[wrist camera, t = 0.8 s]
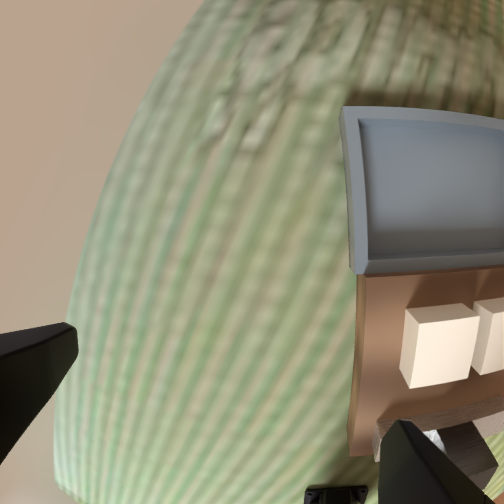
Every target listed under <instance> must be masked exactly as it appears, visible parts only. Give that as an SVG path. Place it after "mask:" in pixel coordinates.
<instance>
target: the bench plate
mask: <svg viewBox="0 0 504 504" xmlns="http://www.w3.org/2000/svg"><path fill="white" fill-rule="evenodd" d="M502 297H504V264H501V265H489V266H477V267H465V268H452V269H438V270H423V271H408V272H391V273H374V274H357V300H356V331H355V350H354V365H353V378H352V389H351V399H350V408H349V416H348V424H347V435H348V444H349V454H350V457H355V456H365V455H374V454H373V448H372V440H373V435H374V430H375V425H376V421H379V420H387V419H395V418H402V417H409V416H415V415H421V414H427V413H432V412H437V411H442V410H447V409H451V408H455V407H460V406H464V405H468V404H472V403H476V402H479V401H483V400H486V399H490V398H493V397H496V396H500V395H502V396H503V398H504V369H503V370H499V371H495V372H491V373H488V374H484V375H479V373H478V372H477V371H476V370H475V369H474V368H473V367H472V366H470V370H469V375H468V378H466V379H462V380H457V381H452V382H447V383H442V384H436V385H430V386H424V387H418V388H411V389H409V387H408V385H407V383H406V381H405V379H404V377H403V375H402V373H401V371H400V369H399V366H400V358H401V351H402V342H403V333H404V322H405V310H406V309H409V308H420V307H430V306H439V305H449V304H457V303H462V304H464V305H465V306H467V307H468V308H470V309H471V310H472V311H473V304H474V301H481V300H488V299H495V298H502Z"/></svg>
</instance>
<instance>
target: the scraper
mask: <svg viewBox="0 0 504 504" xmlns="http://www.w3.org/2000/svg"><path fill="white" fill-rule="evenodd" d="M398 419H405V420H410V421H412V422H413V423H414V424H415V425H416V426H417V427H418V428H419V429H420V430H421V431H422V432H423V433H424V434H425V435H426V436H427V437H428V438H429V439H430V440H431V441H432V442H433V443H434V444H435V445H436V446H437V447H438V448H439V449H440V450H441V451H442V452H443V453H444V454H445V455H446V456H447V457H448V458H449V459H450V460H451V461H452V462H453V463H454V464H455V465H456V466H457V467H458V468H459V469H460V470H461V471H462V472H463V473H464V474H466V475H467V476H468V477H469V478H470V479H471V480H472V481H473V482H474V483H475V484H476V485H477V486H478V487H479V488H480V489H481V490H483V489H485V487H486V486H487V484H488V482H489V481H490V479H491V478H492V476H493V474H494V473H495V471H496V469H497V468H498V466H499V465H498V463H497V461H496V459H495V458H494V456H493V454H492V453H491V451H490V449H489V447H488V446H487V444H486V442H485V441H484V439H483V438H485V437H488V436H491V435H494V434H497V433H500V432H502V431H503V429H504V398H503V396H502V395H500V396H496V397H493V398H490V399H486V400H483V401H479V402H476V403H472V404H468V405H464V406H460V407H455V408H451V409H447V410H442V411H437V412H432V413H427V414H421V415H415V416H409V417H402V418H395V419H387V420H379V421H376V425H375V430H374V435H373V440H372V448H373V454H374V459H375V462H379V461H380V443H381V440H382V438H383V436H384V435H385V434H386V432H387V431H388V430H389V428H390V427H391V426H392V424H393V423H394V422H395V421H396V420H398Z"/></svg>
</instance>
